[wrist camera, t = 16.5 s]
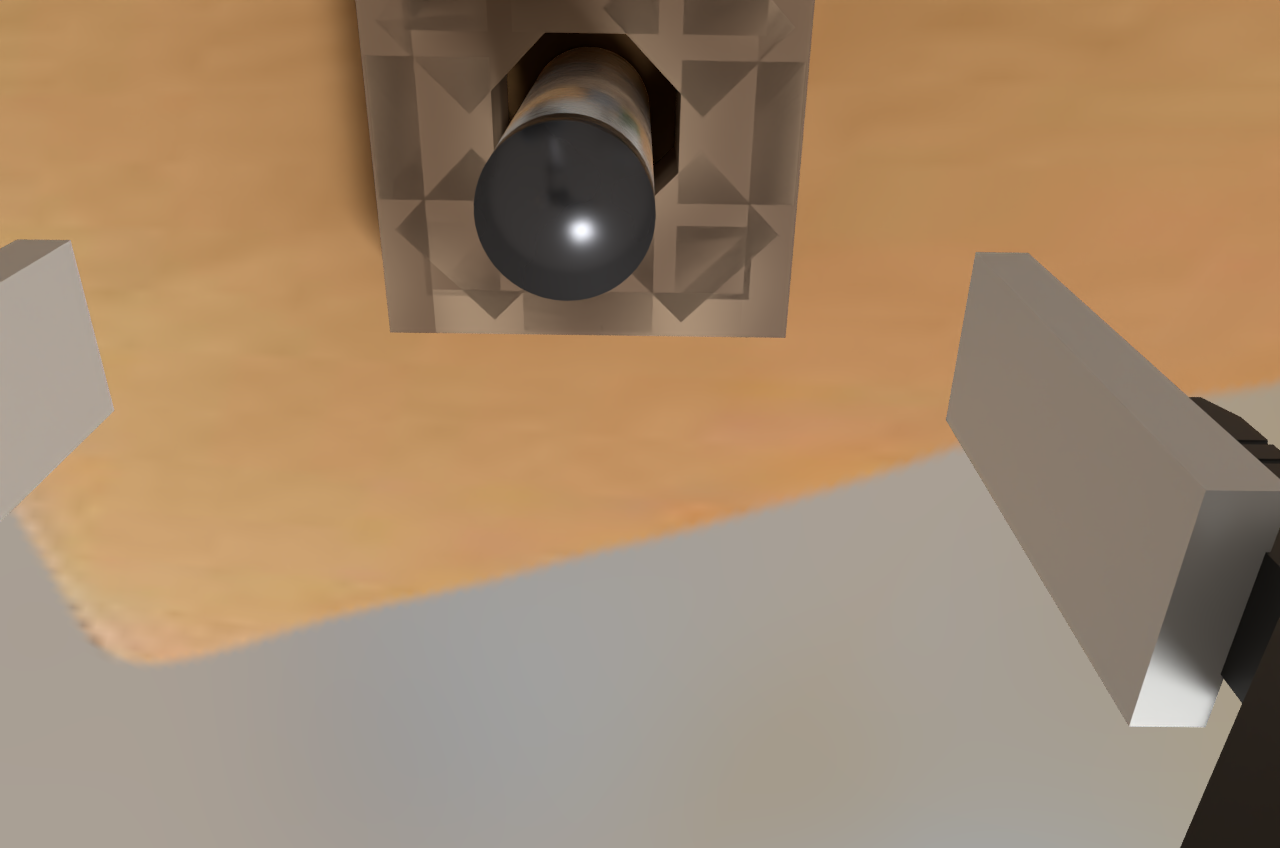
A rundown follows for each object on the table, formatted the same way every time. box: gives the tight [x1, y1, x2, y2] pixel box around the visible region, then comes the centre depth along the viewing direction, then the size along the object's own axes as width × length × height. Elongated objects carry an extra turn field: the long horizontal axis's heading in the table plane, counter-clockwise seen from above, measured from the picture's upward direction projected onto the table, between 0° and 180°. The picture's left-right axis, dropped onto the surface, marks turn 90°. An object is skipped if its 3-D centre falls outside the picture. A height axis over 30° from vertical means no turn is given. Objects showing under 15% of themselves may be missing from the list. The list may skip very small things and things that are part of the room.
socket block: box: [355, 0, 815, 338], centre depth 32 cm, size 13×13×4 cm
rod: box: [474, 47, 656, 301], centre depth 28 cm, size 4×4×13 cm
